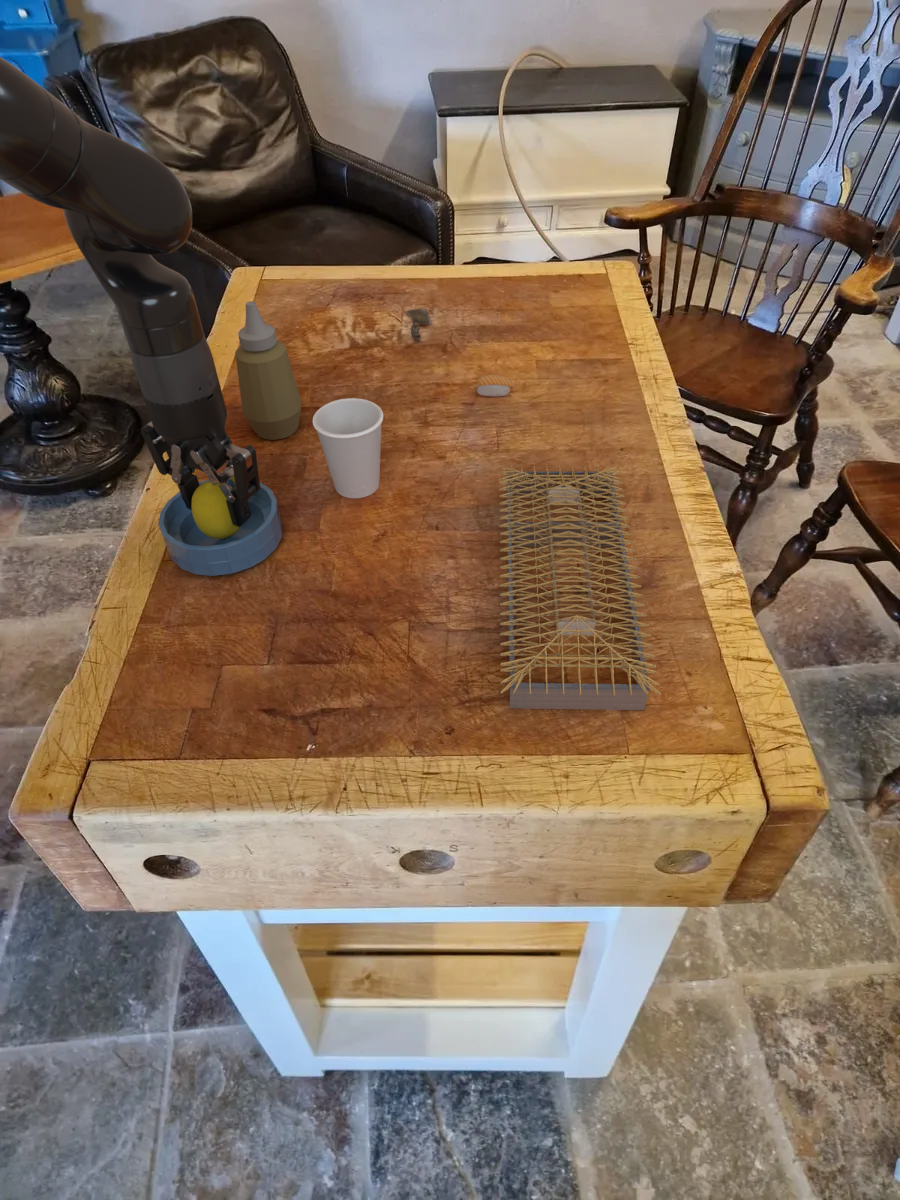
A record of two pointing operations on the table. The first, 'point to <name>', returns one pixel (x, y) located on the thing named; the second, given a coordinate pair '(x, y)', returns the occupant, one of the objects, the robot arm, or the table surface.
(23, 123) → the robot arm
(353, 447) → the dixie cup
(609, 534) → the rafter model
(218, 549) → the bowl
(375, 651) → the table surface
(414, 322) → the grey post
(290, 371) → the squeeze bottle
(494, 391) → the sushi
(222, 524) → the lemon
